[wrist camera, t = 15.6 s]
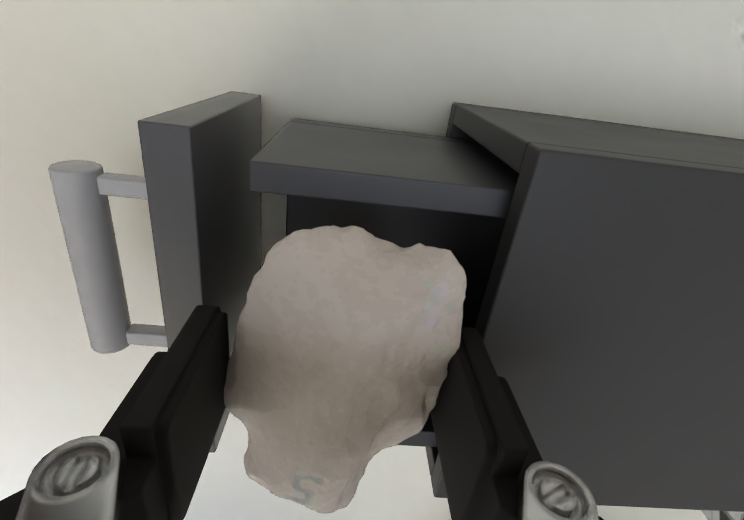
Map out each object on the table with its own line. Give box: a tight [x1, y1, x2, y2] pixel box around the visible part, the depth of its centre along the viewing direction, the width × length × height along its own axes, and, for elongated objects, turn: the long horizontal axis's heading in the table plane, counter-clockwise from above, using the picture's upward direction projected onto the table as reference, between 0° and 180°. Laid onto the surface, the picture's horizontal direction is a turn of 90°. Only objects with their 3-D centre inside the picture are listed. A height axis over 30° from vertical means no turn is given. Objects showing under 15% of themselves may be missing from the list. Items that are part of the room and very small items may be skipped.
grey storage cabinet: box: [426, 102, 744, 512], centre depth 17 cm, size 15×13×10 cm
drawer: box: [48, 91, 519, 452], centre depth 16 cm, size 18×11×8 cm, turn 83°
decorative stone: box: [224, 225, 467, 514], centre depth 11 cm, size 9×6×3 cm, turn 157°
